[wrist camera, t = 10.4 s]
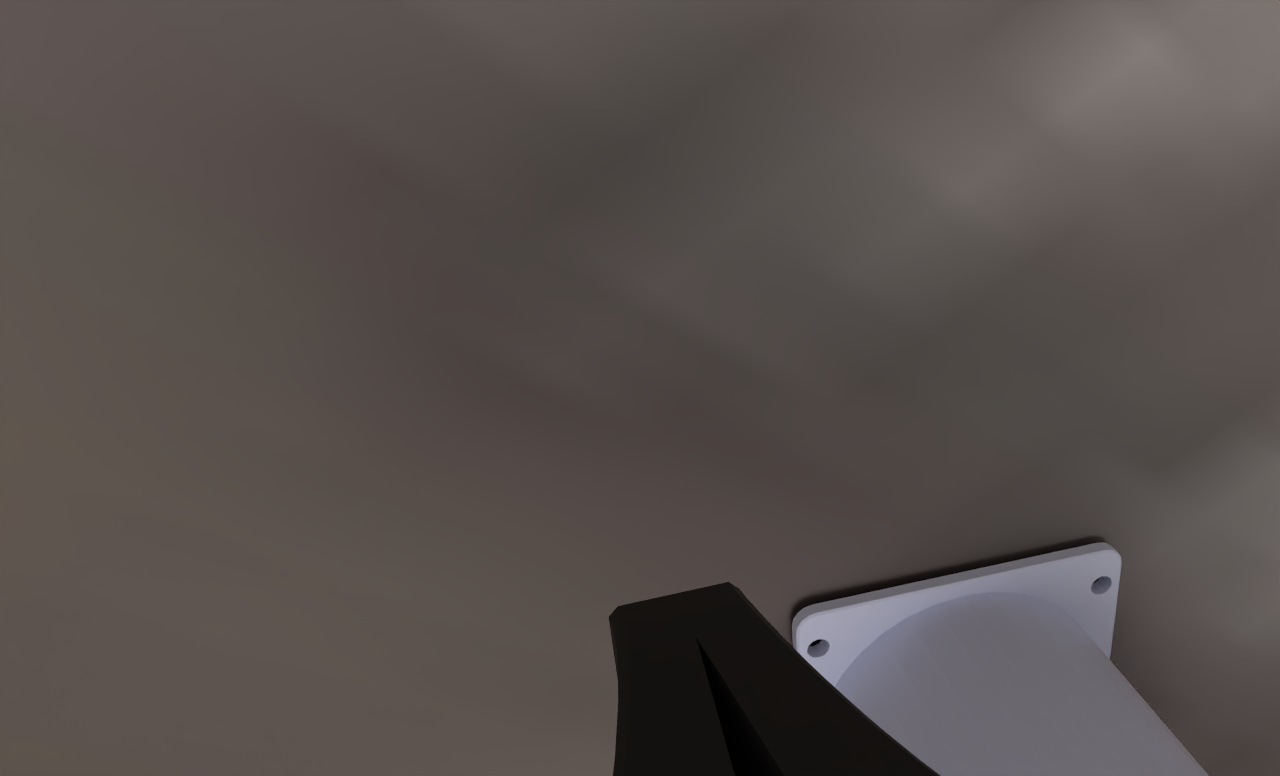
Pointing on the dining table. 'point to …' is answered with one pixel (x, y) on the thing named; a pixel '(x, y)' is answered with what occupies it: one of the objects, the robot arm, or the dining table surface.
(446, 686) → the dining table surface
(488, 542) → the dining table surface
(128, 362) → the dining table surface
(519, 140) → the dining table surface
